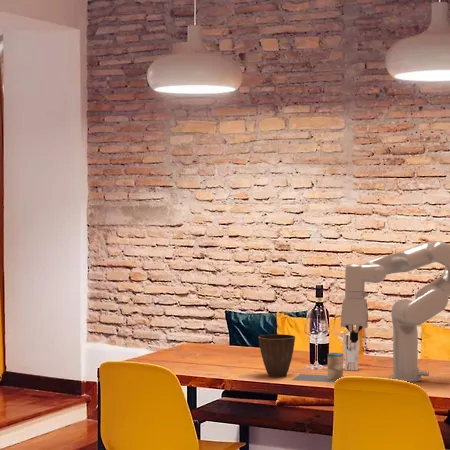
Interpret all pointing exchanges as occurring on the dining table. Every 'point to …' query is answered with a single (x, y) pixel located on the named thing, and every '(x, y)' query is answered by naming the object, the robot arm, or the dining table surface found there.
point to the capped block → (335, 366)
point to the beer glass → (351, 353)
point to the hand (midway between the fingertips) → (354, 342)
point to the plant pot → (277, 353)
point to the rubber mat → (313, 378)
